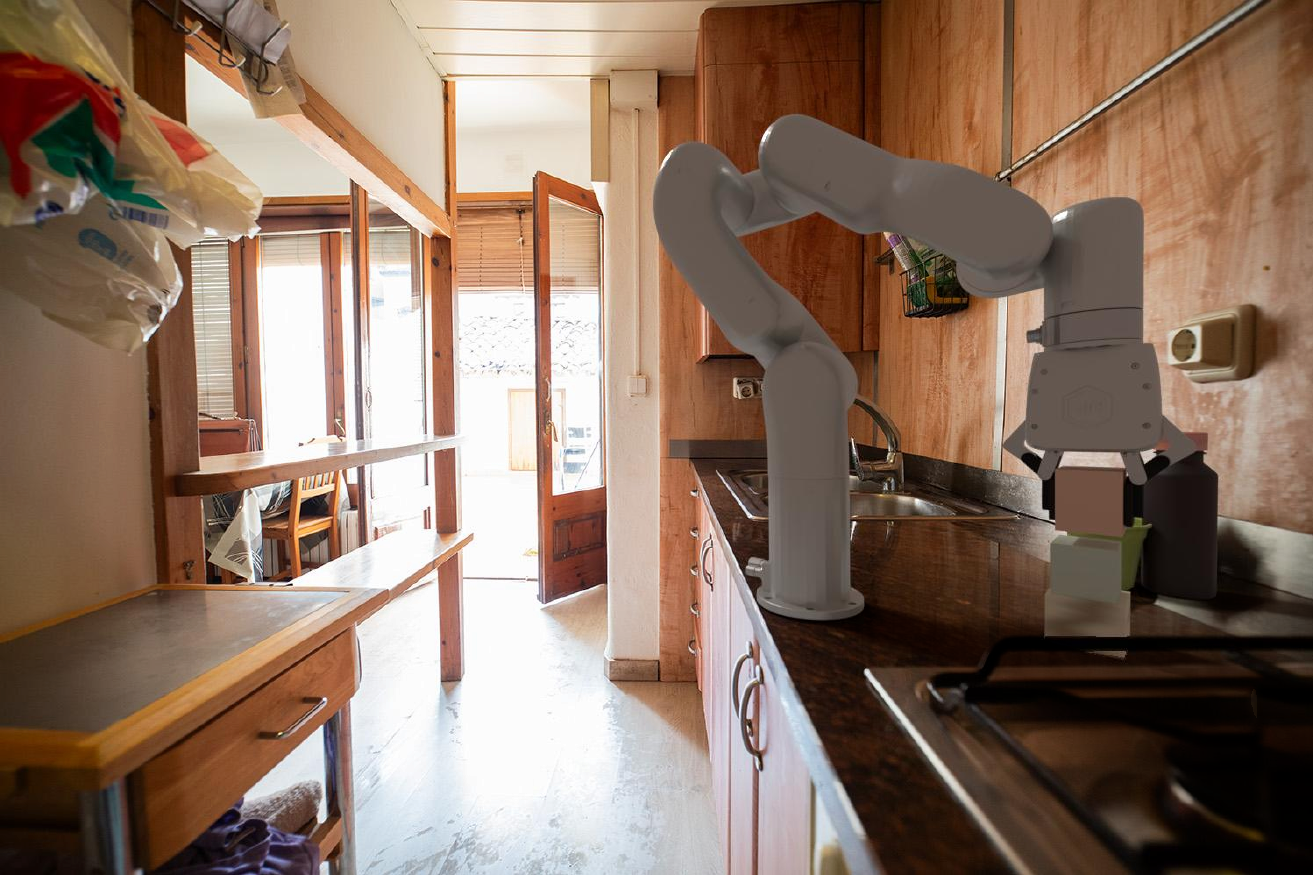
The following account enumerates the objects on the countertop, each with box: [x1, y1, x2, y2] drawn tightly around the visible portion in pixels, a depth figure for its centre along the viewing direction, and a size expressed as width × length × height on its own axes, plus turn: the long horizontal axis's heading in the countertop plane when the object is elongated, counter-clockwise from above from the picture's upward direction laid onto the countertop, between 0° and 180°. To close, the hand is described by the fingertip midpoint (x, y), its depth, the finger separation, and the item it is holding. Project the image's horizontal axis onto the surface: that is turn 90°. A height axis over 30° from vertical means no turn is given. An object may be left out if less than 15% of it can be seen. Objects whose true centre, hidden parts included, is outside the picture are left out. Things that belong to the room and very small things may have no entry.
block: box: [1054, 465, 1128, 537], centre depth 53 cm, size 5×5×6 cm
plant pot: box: [1066, 517, 1152, 591], centre depth 71 cm, size 9×9×9 cm
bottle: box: [1140, 431, 1219, 601], centre depth 67 cm, size 7×7×20 cm
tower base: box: [1044, 587, 1131, 658], centre depth 53 cm, size 6×6×5 cm
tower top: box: [1049, 534, 1122, 604], centre depth 53 cm, size 5×5×5 cm
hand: (1090, 519), depth 53 cm, fingers closed on block, 5 cm apart
